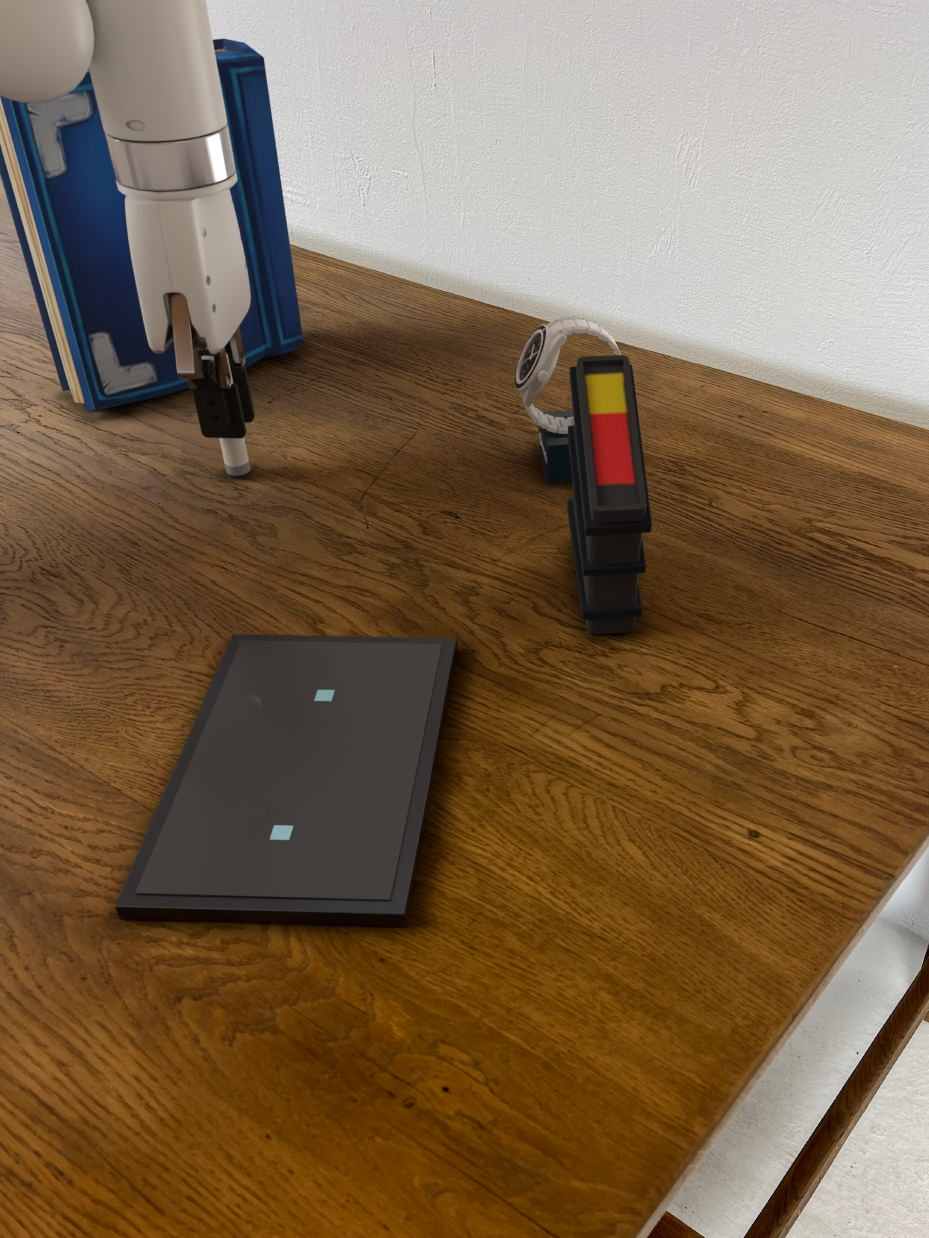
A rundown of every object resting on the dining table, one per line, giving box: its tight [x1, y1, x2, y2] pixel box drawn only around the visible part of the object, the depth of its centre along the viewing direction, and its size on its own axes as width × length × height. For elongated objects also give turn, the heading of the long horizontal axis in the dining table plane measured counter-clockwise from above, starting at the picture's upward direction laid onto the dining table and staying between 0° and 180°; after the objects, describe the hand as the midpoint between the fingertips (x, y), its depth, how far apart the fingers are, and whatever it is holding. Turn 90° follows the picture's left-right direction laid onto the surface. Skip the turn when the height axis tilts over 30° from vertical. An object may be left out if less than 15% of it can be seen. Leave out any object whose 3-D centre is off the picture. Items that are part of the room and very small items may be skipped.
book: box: [0, 38, 305, 414], centre depth 93 cm, size 22×7×25 cm, turn 130°
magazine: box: [566, 354, 653, 636], centre depth 72 cm, size 4×13×15 cm, turn 5°
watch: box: [513, 316, 622, 485], centre depth 85 cm, size 6×8×11 cm
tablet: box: [114, 633, 459, 928], centre depth 63 cm, size 14×22×1 cm, turn 178°
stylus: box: [202, 353, 252, 477], centre depth 85 cm, size 2×2×9 cm
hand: (229, 426), depth 85 cm, fingers closed on stylus, 1 cm apart
